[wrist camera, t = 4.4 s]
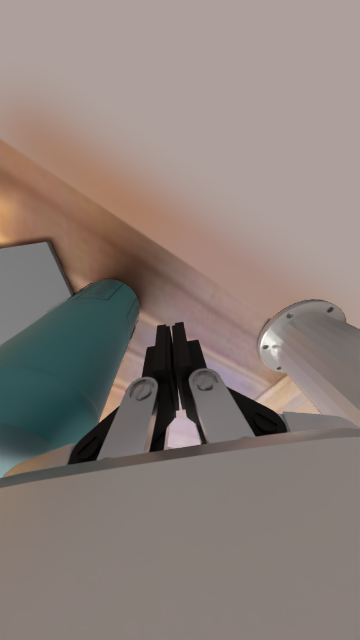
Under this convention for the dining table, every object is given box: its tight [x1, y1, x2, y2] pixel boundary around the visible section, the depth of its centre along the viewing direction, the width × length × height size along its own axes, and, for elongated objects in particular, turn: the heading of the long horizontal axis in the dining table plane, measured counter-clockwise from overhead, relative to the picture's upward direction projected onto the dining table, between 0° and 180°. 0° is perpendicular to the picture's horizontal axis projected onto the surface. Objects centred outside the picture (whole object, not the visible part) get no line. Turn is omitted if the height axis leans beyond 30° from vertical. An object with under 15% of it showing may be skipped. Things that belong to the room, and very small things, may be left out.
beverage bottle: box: [0, 278, 141, 478], centre depth 12 cm, size 6×7×20 cm
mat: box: [0, 242, 74, 345], centre depth 21 cm, size 15×15×1 cm
